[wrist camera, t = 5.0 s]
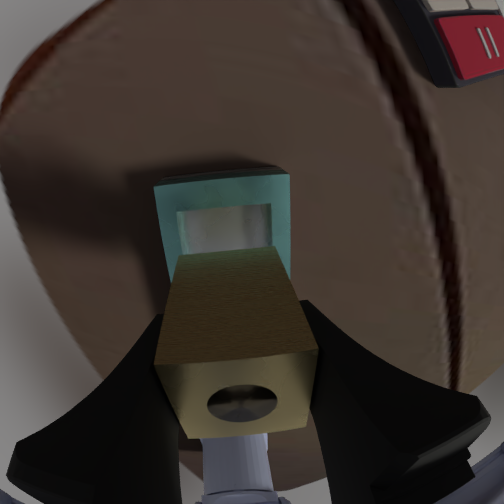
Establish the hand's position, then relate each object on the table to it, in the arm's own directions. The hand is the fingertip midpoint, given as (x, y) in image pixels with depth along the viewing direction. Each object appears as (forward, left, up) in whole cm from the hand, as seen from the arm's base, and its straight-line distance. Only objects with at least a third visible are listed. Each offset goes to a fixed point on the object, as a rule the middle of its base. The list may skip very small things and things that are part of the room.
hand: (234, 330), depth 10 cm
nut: (0, 0, -3) cm, 3 cm away
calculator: (+18, -20, -10) cm, 29 cm away
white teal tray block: (-5, 0, -9) cm, 11 cm away
